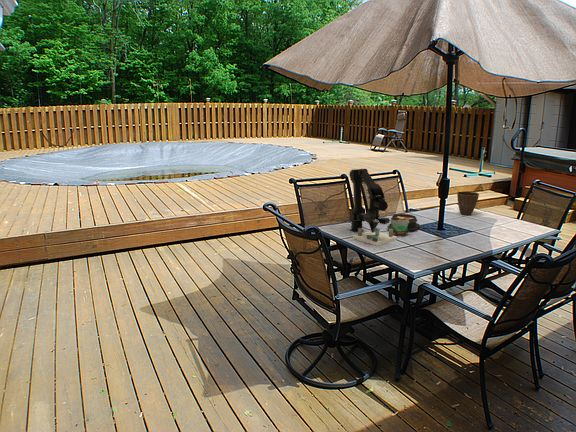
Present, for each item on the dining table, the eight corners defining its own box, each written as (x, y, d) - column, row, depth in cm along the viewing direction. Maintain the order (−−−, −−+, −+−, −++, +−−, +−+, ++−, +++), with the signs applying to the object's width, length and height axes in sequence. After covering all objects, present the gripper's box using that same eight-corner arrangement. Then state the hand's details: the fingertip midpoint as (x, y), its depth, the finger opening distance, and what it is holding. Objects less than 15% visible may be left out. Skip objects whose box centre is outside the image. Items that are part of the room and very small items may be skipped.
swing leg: (368, 238, 254) (368, 230, 253) (365, 237, 256) (365, 229, 255) (380, 237, 257) (380, 229, 256) (377, 235, 260) (377, 227, 258)
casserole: (404, 235, 269) (405, 222, 267) (380, 229, 282) (380, 216, 280) (426, 228, 284) (427, 215, 282) (402, 222, 298) (403, 210, 296)
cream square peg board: (353, 238, 262) (353, 228, 260) (372, 233, 273) (373, 223, 271) (377, 245, 248) (378, 235, 246) (396, 239, 259) (397, 229, 258)
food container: (394, 237, 264) (395, 221, 262) (389, 234, 270) (390, 219, 267) (412, 235, 267) (413, 220, 265) (407, 233, 273) (408, 217, 271)
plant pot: (480, 216, 314) (483, 195, 310) (461, 217, 312) (464, 195, 308) (469, 211, 329) (472, 191, 325) (451, 212, 327) (453, 191, 323)
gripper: (353, 206, 255) (352, 232, 259) (381, 212, 243) (379, 238, 247) (363, 203, 263) (361, 228, 267) (391, 208, 251) (389, 234, 255)
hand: (372, 232), depth 258 cm, fingers closed
